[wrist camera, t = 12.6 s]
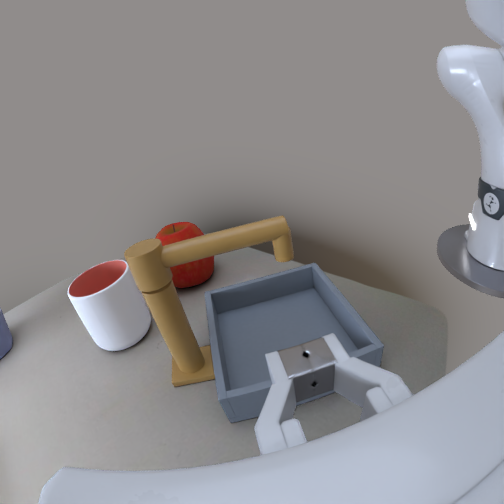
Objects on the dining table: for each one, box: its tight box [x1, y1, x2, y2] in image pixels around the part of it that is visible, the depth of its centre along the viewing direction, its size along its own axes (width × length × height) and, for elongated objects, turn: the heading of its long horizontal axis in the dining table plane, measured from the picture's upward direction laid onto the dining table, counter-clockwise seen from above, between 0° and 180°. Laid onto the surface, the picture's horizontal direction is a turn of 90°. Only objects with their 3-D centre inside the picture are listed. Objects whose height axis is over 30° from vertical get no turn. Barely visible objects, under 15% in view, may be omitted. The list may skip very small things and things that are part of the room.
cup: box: [67, 260, 151, 351], centre depth 36 cm, size 10×10×10 cm
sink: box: [205, 263, 384, 423], centre depth 31 cm, size 16×18×4 cm
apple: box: [155, 222, 214, 288], centre depth 48 cm, size 11×11×11 cm
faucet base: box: [142, 279, 215, 387], centre depth 28 cm, size 5×5×12 cm
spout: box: [124, 216, 294, 292], centre depth 25 cm, size 15×4×5 cm, turn 102°
